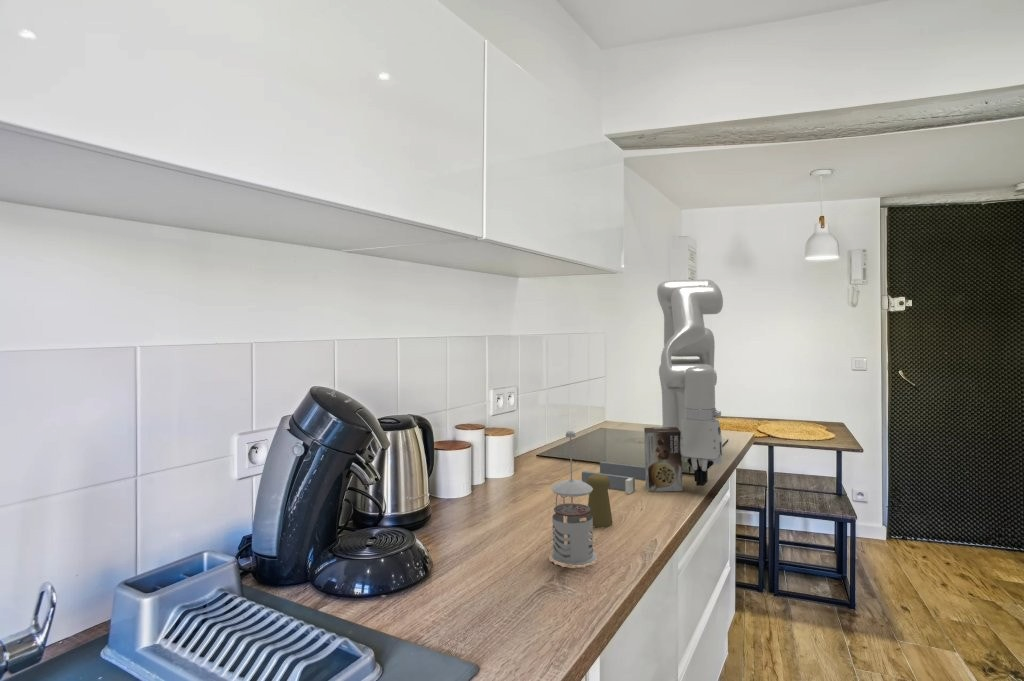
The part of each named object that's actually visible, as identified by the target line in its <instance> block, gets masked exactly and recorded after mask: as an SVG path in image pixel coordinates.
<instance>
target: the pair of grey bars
mask: <svg viewBox="0 0 1024 681" xmlns="http://www.w3.org/2000/svg"><path fill="white" fill-rule="evenodd" d="M593 474H603V475H606V476H608V477H609V479H610V487H609V489H610V490H611V489H612V490H619V491H625V494H626V495H627V494H628V495H631V494H632V493H633V492H635V491H636V481H635V480H642V481H646V473H645V466H642V465H632V464H626V463H625V464H624V463H623V464H622V463H615V462H606V461H599V472H595V471H594V472H593V471H585V470H583V471H582V472H581V481H582V482H585V483H587V479H588V477H589V476H590V475H593Z"/></svg>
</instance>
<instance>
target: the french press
mask: <svg viewBox="0 0 1024 681" xmlns="http://www.w3.org/2000/svg"><path fill="white" fill-rule="evenodd" d="M565 438H569V450H570V451H569V454H570V458H569V459H570V478H569V479H567V480H566V479H564V480H561V481H559V482H557V483H554V484H553V485H552V486H551V487H550V489H551V491H552V493H554V494H556V497H555V507H554V508H553V510H554V512H555V513H553V515H552V518H551V520H552V521H551V522H552V537H553V538H552V552H551V553H550V554H551V556H552V558H553V559H554V560H556V561H558V562H561V563H565V564H572V565H584V564H587V563H591V562H592V561H594V560H595V559H596V555H597V554H596V552H594V536H593V532H594V527H593V517H592V515H591V514H589V512H590V510H591V509H590V508H589V506H588V505H586V504H583V503H582V504H581V503H574V502H573V499H574V498H573V497H583V496H587V495H588V496H589V494H590V493H591V492H592V490H593V488H592V487H591V486H590V485H588V484H587V483H585V482H582V480H578V479H573V464H572V461H573V459H572V458H573V457H572V456H573V455H572V452H573V451H572V438H576V432H575V430H567V431H566V433H565ZM559 496H560V497H561V498H563V499H562V500H563V503H561V504H558V497H559ZM568 497H571V498H570V500H571V501H570V502H568V503H566V502H565V498H568ZM583 518H585V519H586V518H589V519H590V520H589V521H586V520H581V521H580V519H583ZM564 519H565V520H564ZM564 521H566V522H564ZM589 533H590V534H589ZM565 535H567V537H565ZM589 539H590V540H589ZM565 542H566V543H567V544H565Z"/></svg>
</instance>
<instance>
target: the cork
mask: <svg viewBox="0 0 1024 681" xmlns="http://www.w3.org/2000/svg"><path fill="white" fill-rule="evenodd" d="M587 484H588V485H590V486H591V487H592V488H593V490H592V492H591V493H590V494H588V499H587V500H588V501H587V506H589V508H590V509H591V510H590V512H589V514H591V515H592V517H593V526H595V527H594V528H597V527H604V528H608V527H607V526H609V527H611V526H612V525H613V524H614V522H613V516H612V510H611V501H610V496H609V489H610V488H609V487H610V479H609V477H608V476H606V475H603V474H593V475H590V476H589V477H588V479H587ZM585 519H586V520H585V521H589V520H590V519H589V518H585ZM612 523H613V524H612ZM610 525H611V526H610Z"/></svg>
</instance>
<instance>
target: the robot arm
mask: <svg viewBox="0 0 1024 681" xmlns="http://www.w3.org/2000/svg"><path fill="white" fill-rule="evenodd" d="M656 288H657V290H656V294H657V299H658V303H659V306H660V308H661V311H662V314H663V349H662V351H661V355H660V365H659V367H658V376H659V381H660V388H661V401H662V403H661V405H662V406H661V408H662V409H661V411H662V413H661V414H662V427H677V428H678V429H679V430H680V431H681V434H680V454H681V457H682V458H681V459H682V462H685V463H687V464H689V465H690V466H691V468H692V470H693V471H694V472H693V474H694V475H693V476H694V482H695V484H696V487H699V486H700V487H704V486H705V485H706V484H707V483H708V479H709V478H708V477H709V476H708V470H709V469H710V468H711V467H712V466H716V465H721V464H723V458H722V456H723V451H724V450H723V438H722V432H721V431H722V430H721V425H720V420H719V419H716V418H718V417H719V418H720V417H722V412H721V411H719V410H717V408H716V385H717V382H718V381H717V380H718V376H717V371H716V370H715V351H716V350H715V348H716V347H715V336H714V333H713V331H712V330H711V329H710V328H708V327H706V326H705V322H704V315H717V314H720V313H721V311H722V309H723V307H724V298H723V294H722V291H721V288H720V286H718V284H716V283H715V281H714V280H711V279H677V280H676V279H675V280H665V281H662V282H660V283H659V284H658V285H657V287H656ZM672 357H676V358H672ZM677 357H682V358H677ZM683 357H684V358H683ZM685 357H691V358H685ZM692 357H698V358H692ZM700 460H702V465H701V464H700Z"/></svg>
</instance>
